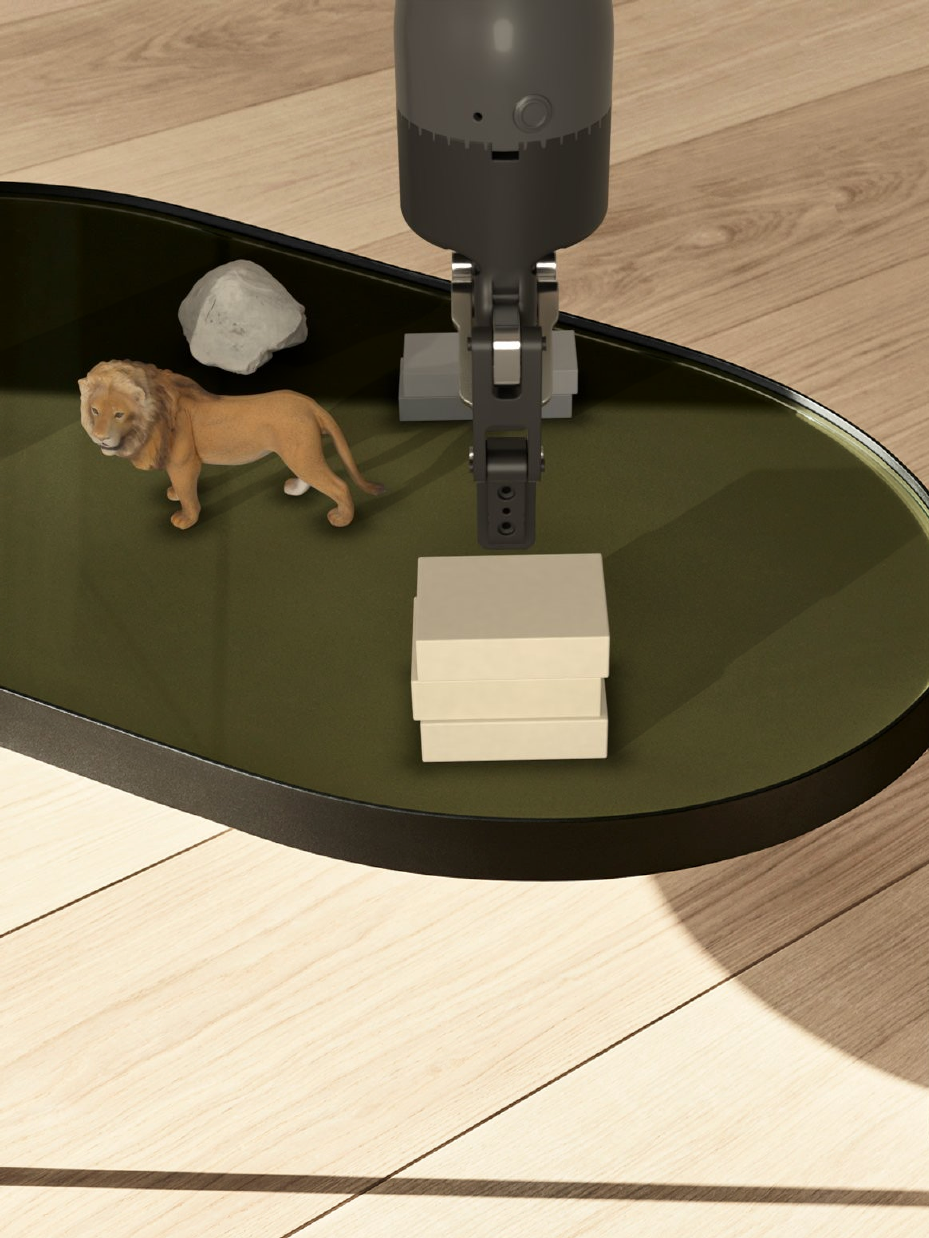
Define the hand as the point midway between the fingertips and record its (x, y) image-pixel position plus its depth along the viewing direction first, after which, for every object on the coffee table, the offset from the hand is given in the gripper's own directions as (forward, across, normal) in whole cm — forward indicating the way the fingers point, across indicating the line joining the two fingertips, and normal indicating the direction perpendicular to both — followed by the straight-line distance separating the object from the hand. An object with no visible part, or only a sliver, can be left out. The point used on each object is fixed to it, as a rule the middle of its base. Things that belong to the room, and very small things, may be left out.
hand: (504, 483), depth 74 cm
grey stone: (+13, -34, -15) cm, 39 cm away
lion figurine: (+13, -16, -14) cm, 25 cm away
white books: (+12, 0, 0) cm, 12 cm away
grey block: (+12, -28, -1) cm, 30 cm away
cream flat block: (+8, 0, 0) cm, 8 cm away
